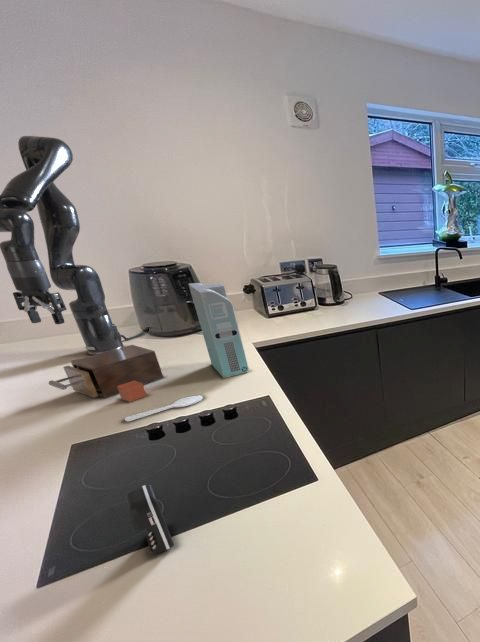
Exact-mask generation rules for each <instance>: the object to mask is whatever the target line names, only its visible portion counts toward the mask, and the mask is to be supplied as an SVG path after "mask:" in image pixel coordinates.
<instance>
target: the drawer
mask: <svg viewBox="0 0 480 642" xmlns="http://www.w3.org/2000/svg"><path fill="white" fill-rule="evenodd" d="M76 366H77V365H76ZM62 368H63V370H64V372H65V375H66V377H65V378H61V379H60V378H59V379H57V380H49V381H48V385H49V386H52V387H54V388H57V389H59V390H63V391H64V390H66V389H68V388H69V387H71V388H72V391H75V392H78V393H80V394H82V395H85V396H88V397H90V398H93V399H94V398H96V397H99V395H98V394H97V392H96V390H97V391H100V388H99V386H98V383H97V381H96V379H95V376H94V374H93V371H91V370H89V369H86V368H83V367H80V366H77V368H78V369H77V368H74V367H73V366H72V365H65V366H62ZM65 381H69V383H68V384H63V383H61V382H65ZM100 392H101V391H100Z"/></svg>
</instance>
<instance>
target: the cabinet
mask: <svg viewBox="0 0 480 642" xmlns="http://www.w3.org/2000/svg"><path fill="white" fill-rule="evenodd" d="M70 363H71V367H74V368H77V366H80V367H83V368H86V369H89V370H91V371H93V374H94V376H95V379H96V381H97V383H98V386H99V388H100V391H101V392H100V391H97V390H96V392H97V394H98V397H101V398H108V397H111V396H114V395H117V394H120V393H119V391H118V388H117V386H119V385H122V384H125V383H128V382H131V381H137V382H140V383H143V385H146V384H149V383H152V382H156V381H157V380H160V379H163V378H164V374H163V371H162V368H161V366H160V363H159V360H158V356H157V355H156V351H155V350H152V349H149V348H147V347H142V346H138V345H135V344H130V345H126V346H124V347H122V348H118V349H115V350H111V351H107V352H103V353H99V354H96V355H89V356H85V357H81V358H77V359H74V360H70ZM76 365H77V366H76ZM77 369H78V368H77Z"/></svg>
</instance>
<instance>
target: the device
mask: <svg viewBox="0 0 480 642" xmlns="http://www.w3.org/2000/svg"><path fill="white" fill-rule="evenodd" d="M188 287H189V290H190V295H191V298H192V302H193V304H194V308H195V311H196V315H197V319H198V322H199V326H200V329H201V332H202V336H203V339H204V343H205V346H206V349H207V350H206V351H207V353H208V356H209V360H210V364H211V365H212V367H213V368H214V369H215V370H216V371H217V372H218V373H219V375H220V376H221V377H222V378H223V379H226V378H230V377H233V376H237V375H242V374H245V373H248V372H249V371H250V368H249V364H248V360H247V356H246V352H245V349H244V344H243V340H242V336H241V333H240V328H239V325H238V320H237V316H236V311H235V308H234V305H233V302H232V301H231V300H230V299H229V298H228V295H227V292H226V288H225V285H223V284H222V283H221V282H218V283H217V282H216V283H208V284H204V283H201V282H191V283H188Z"/></svg>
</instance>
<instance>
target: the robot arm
mask: <svg viewBox="0 0 480 642" xmlns="http://www.w3.org/2000/svg"><path fill="white" fill-rule="evenodd" d="M17 143H18V144H17V145H18V151H19V154H20V157H21V161H22V162H23V165H24V168H25V170H24V171H22V172H20V173H19V174H17V175H15V176H14V177H12V178H11V179H10V180H9V181H8V183H7V184H6V186H4V189H3V190H2V191H1V193H0V233H10V234H11V235H10V239H7V240H4V241H1V242H0V251H1V254H2V257H3V260H4V261H5V264H6V269H7V272H8V273H9V276H10V278H11V281H12V283H13V285H14V288H15V290H16V291H15V292H12V296H13V299H14V301H15V303H16V306H17V309H18V310H19V311H23V312H24V313H26V314H27V316H28V318H29V320H30V322H31V324H38V323H41V322H42V319H41V316H40V314H39V312H38V310H37V309H38V307H42V308H43V309H46V310H47V311H48V312H50V315H51V317H52V319H53V322H54V324H55V325H62V324H65V318H64V316H63V313H62V312H64V311H67V310H68V309H67V306H66V304H65V302H64V299H63V297H62V295H61V293H60V292H50V290H49V289H50V288H51V287H52V284H51V282H50V280H49V279H50V278H51V281H52V283H53V284H54V285H55V286H56V287H57V288H58V289H60V290H62V291H75V292H76V296H77V298H76V299H74V300H71V301H70V302H69V303H68V305H69V309H70V312H71V313H72V316H73V318H74V320H75V323H76V326H77V328H78V330H79V333H80V335H81V337H82V340H83V343H84V345H85V346H84V349H86V350H87V353H88V355H90V356H92V355H96V354H99V353H103V352H107V351H111V350H115V349H118V348H122V347H125V346H124V342H123V340H125V341H130V340H133V339H136V338H139V337H142V336H143V335H145V334H147V333H148V332H144V331H143V332H140V333H138V334H136V335H134V336H130V337H126V336H125V335H124V334H121V333H120V332H119V330H118V327H117V324H115V323H113V321H112V319H111V315H110V313H109V311H108V308H107V306H106V295H105V292H104V288H103V285H102V281H101V277H100V275H99V274H98V272H97V271H96V270H95V269H94V267H91V266H89V265H85V264H75V259H74V255H73V248H74V246H75V243H76V241H77V238H78V237H79V234H80V230H81V225H80V220H79V214H78V210H77V208H76V206H75V205H74V204H73V202H72V201H71V200H70V199H69V198H68V197H67V196H66V195H65V193H63V192H62V191H61V190H60V189H59V187H58V186H57V185H56V184H55V181H56V180H57V179H58V178H59V177H60V176H61V174H63V173H64V172H65V171H66V170H67V169H68V168H69V167H70V166H71V165H72V163H73V161H74V155H73V152H72V149H71V148H70V145H68V143H66V142H65V141H63V140H62V139H60V138H56V137H51V136H50V137H49V136H38V135H37V136H36V135H22V136H21V137H20V138H19V139H18V142H17ZM35 208H37V213H38V217H39V221H40V224H41V228H42V231H43V235H44V241H45V245H46V250H47V258H48V268H49V275H50V278H49V277H48V274H47V271H46V269H45V266H44V265H43V263H42V261H41V259H40V257H39V254H38V252H37V250H36V247H35V224H34V220H33V219H32V217H31V215H29V212H31V211H33V210H34V209H35ZM122 339H123V340H122Z"/></svg>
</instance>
